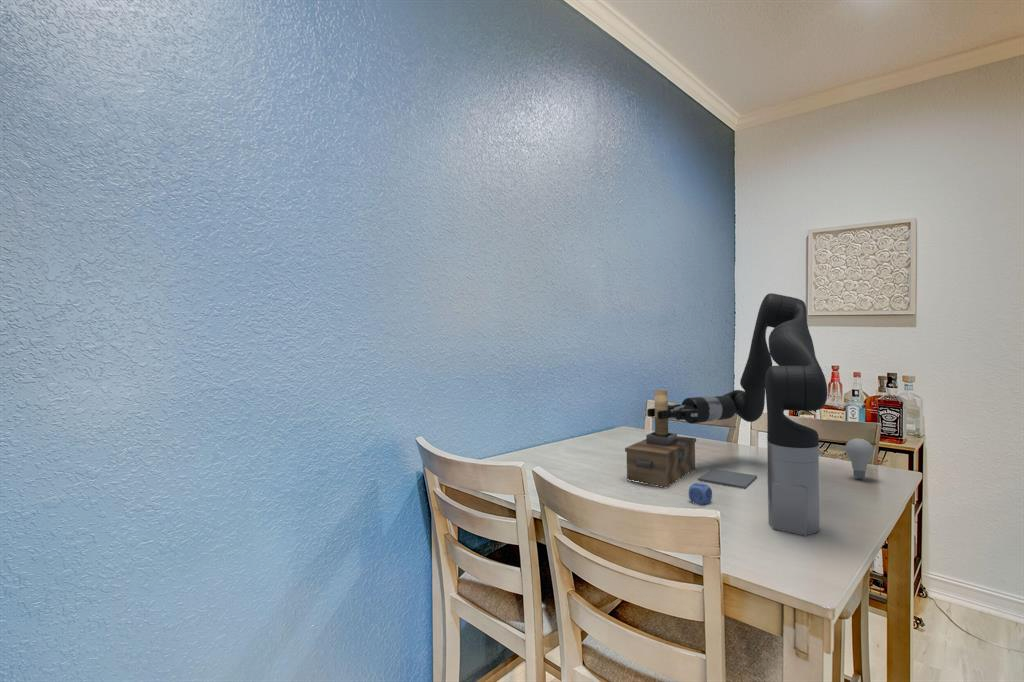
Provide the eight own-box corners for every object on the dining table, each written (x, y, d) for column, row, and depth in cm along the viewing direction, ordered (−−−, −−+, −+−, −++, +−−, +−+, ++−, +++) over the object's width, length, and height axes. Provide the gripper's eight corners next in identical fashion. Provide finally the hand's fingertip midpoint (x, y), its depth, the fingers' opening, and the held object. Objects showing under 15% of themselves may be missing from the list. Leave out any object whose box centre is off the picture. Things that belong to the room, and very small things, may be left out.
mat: (745, 489, 124) (745, 486, 124) (697, 480, 131) (697, 478, 131) (757, 477, 133) (756, 475, 133) (712, 470, 141) (712, 468, 141)
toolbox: (664, 489, 124) (664, 455, 124) (623, 481, 132) (622, 448, 132) (698, 467, 144) (697, 437, 144) (660, 461, 151) (660, 433, 151)
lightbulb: (872, 477, 130) (872, 437, 130) (874, 484, 125) (874, 442, 125) (845, 474, 134) (844, 435, 134) (846, 480, 129) (845, 439, 128)
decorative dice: (696, 498, 118) (696, 481, 118) (712, 502, 115) (712, 485, 115) (688, 502, 115) (688, 485, 115) (704, 506, 112) (704, 489, 112)
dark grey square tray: (668, 446, 133) (668, 437, 133) (646, 443, 137) (646, 434, 137) (677, 442, 138) (677, 433, 138) (655, 439, 142) (655, 431, 142)
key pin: (665, 445, 135) (664, 391, 135) (653, 443, 137) (652, 390, 137) (670, 442, 138) (669, 390, 138) (658, 441, 140) (657, 389, 140)
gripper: (685, 394, 149) (637, 397, 143) (719, 399, 136) (669, 404, 130) (685, 418, 149) (638, 423, 143) (719, 426, 136) (669, 431, 130)
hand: (653, 414), depth 136 cm, fingers open, 4 cm apart
